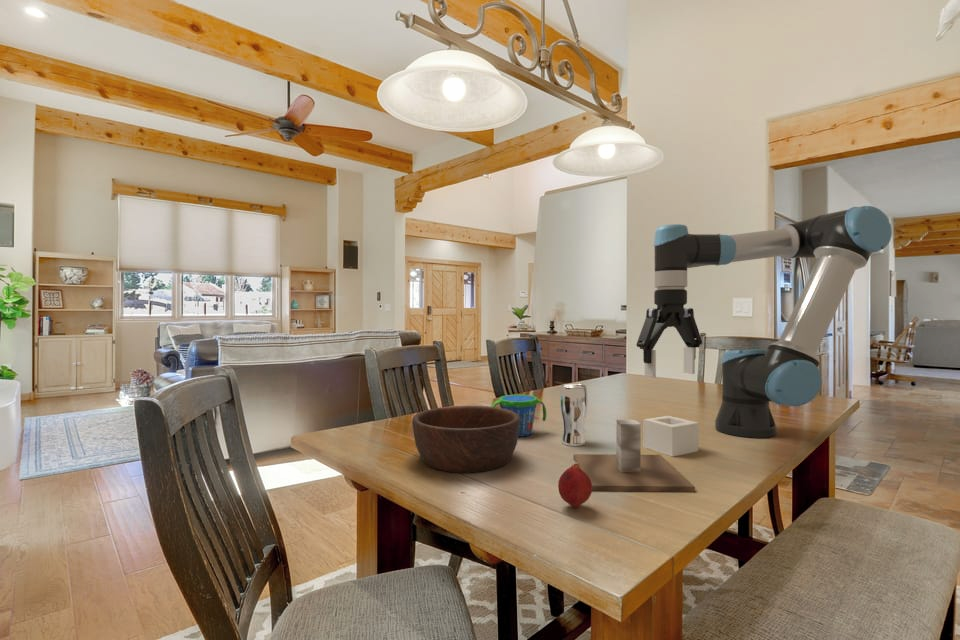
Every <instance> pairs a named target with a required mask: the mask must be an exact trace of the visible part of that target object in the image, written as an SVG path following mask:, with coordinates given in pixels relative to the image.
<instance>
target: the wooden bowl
mask: <svg viewBox="0 0 960 640" xmlns="http://www.w3.org/2000/svg"><path fill="white" fill-rule="evenodd" d="M411 422H412V423H411V424H412V430H413V436H414V442H415V446H416V448H417V452H418V454H419V455H420V458H421V459H422V461H423V462H424V463H425V465H428V466H429V467H431V468H433V469H436V470H439V471H443V472H449V473H450V472H451V473H465V474H466V473H479V472H486V471H490V470H495V469H498V468H500V467H503V466H504V465H506V464H507V463H508V462H509V461H510V459H511V458H512V456H513V454H514V452H515V449H516V447H517V443H518V439H519V436H518V434H519V427H520V417H519V415H518V414H516V413H515V412H513V411H510V410H507V409H502V408H501V407H496V406H495V407H492V406H485V405H451V406H450V405H449V406H440V407H435V408H429V409H426V410H423V411H420V412H418V413H417V414H415V415H414V416H413V417H412V419H411Z"/></svg>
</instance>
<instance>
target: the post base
mask: <svg viewBox="0 0 960 640" xmlns="http://www.w3.org/2000/svg"><path fill="white" fill-rule="evenodd" d="M641 429H642V428H641V423H640V422H639V421H637V420H636V419H616V432H615V433H616V435H615V437H616V443H615V444H616V448H615V449H616V450H615V451H616V454H614V453H613V454H612V453H611V454H605V453H604V454H600V453H599V454H597V453H596V454H595V453H593V454H592V453H589V454H588V453H587V454H586V453H581V454H580V453H574V454H573V460H574V463H575V462H576V463H577V462H578V463H579V464H580V466H579V468H580V469H581V470H583V471H584V472H585V473H586V474H587V475H588V477H589V478H590V481H591V483H592V492H594V491H595V492H596V491H597V492H598V491H599V492H678V493H679V492H680V493H681V492H685V493H686V492H688V493H690V492H692V493H693V492H696V487H695V485H694V484H693V483H692V482H691V481H690V480H688V478H686V477H685V476H684V475H683V474H682V473H681V472H680V471H679V470H678V469H677V468H675V467H674V465H673V464H671V463H670V462H669V461H668V460H667V459H666V458H665V457H664V456H663V455H661V454H641V453H642V452H641V447H642V446H641V444H642V443H641V436H642V435H641V433H642V432H641Z"/></svg>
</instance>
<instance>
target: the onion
mask: <svg viewBox="0 0 960 640" xmlns="http://www.w3.org/2000/svg"><path fill="white" fill-rule="evenodd" d="M579 466H580V464H579V463H578V462H577V463H576V462H575V461H574V462H573V463H572V465H571V466H570V467H568V468H567V469H566V470H565V471H563V473H562V474H561V475H560V477H559V479H558V482H557V486H558V493H559V495H560V498H561V499H562V500H563V501H564V502H565V503H567V504H568V505H569V506H571V507H572V508H575V509H577V508H579V507H580V506H581V505H582V504H584V503H585V502H587V501H588V500H589V499H590V497H591V495H592V493H593V491H592V483H591V481H590V478H589V477H588V475H587V474H586V473H585V472H584V471H583V470H581V469H580V468H579Z"/></svg>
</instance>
